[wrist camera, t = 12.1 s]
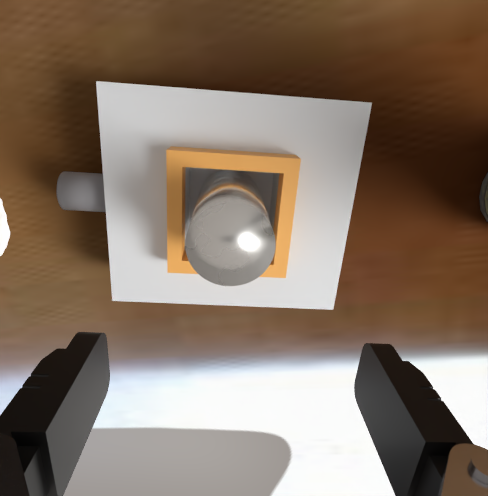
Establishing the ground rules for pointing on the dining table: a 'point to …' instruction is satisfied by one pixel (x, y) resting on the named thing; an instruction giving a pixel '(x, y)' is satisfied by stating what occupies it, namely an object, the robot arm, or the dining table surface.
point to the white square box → (208, 162)
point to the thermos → (484, 197)
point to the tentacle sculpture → (3, 229)
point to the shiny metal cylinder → (230, 230)
